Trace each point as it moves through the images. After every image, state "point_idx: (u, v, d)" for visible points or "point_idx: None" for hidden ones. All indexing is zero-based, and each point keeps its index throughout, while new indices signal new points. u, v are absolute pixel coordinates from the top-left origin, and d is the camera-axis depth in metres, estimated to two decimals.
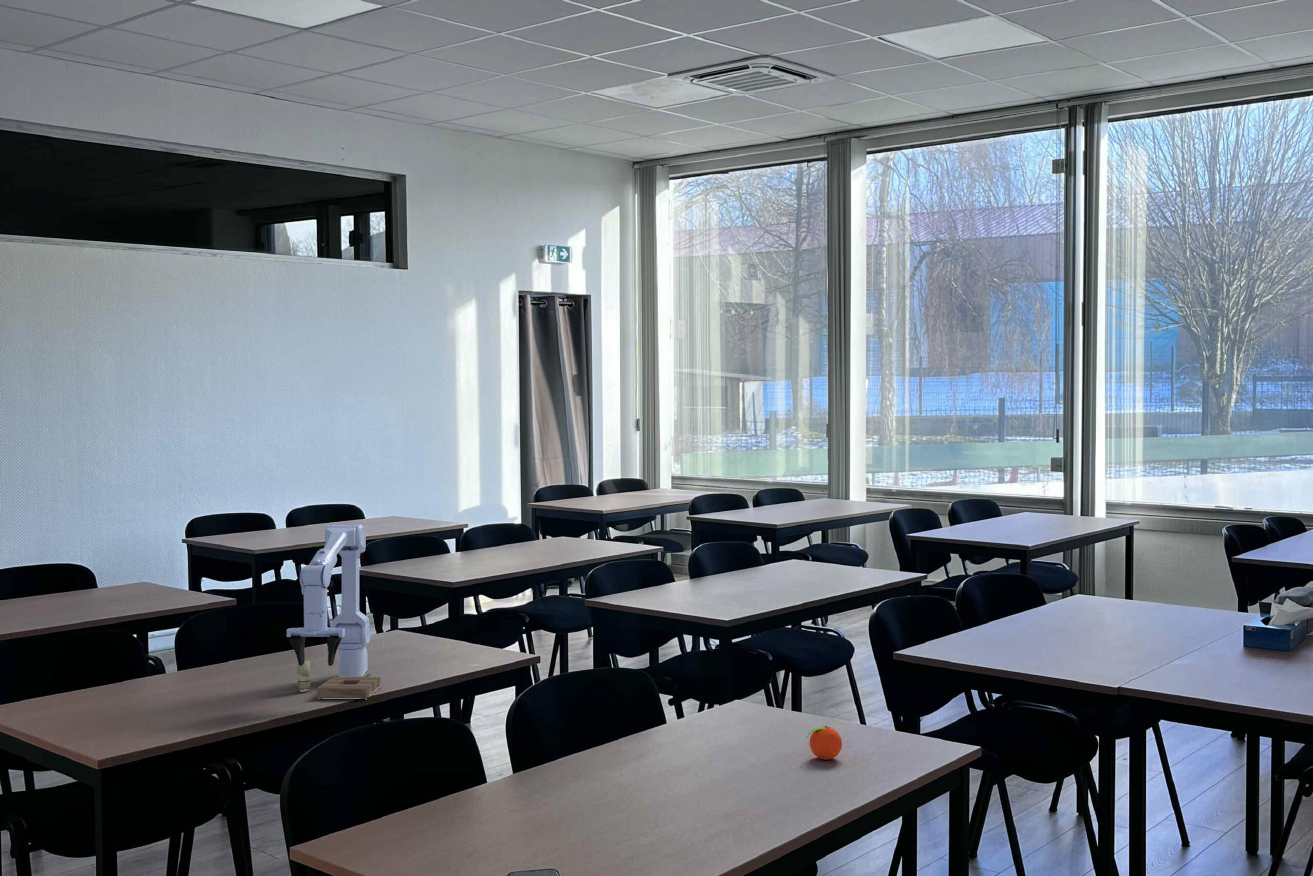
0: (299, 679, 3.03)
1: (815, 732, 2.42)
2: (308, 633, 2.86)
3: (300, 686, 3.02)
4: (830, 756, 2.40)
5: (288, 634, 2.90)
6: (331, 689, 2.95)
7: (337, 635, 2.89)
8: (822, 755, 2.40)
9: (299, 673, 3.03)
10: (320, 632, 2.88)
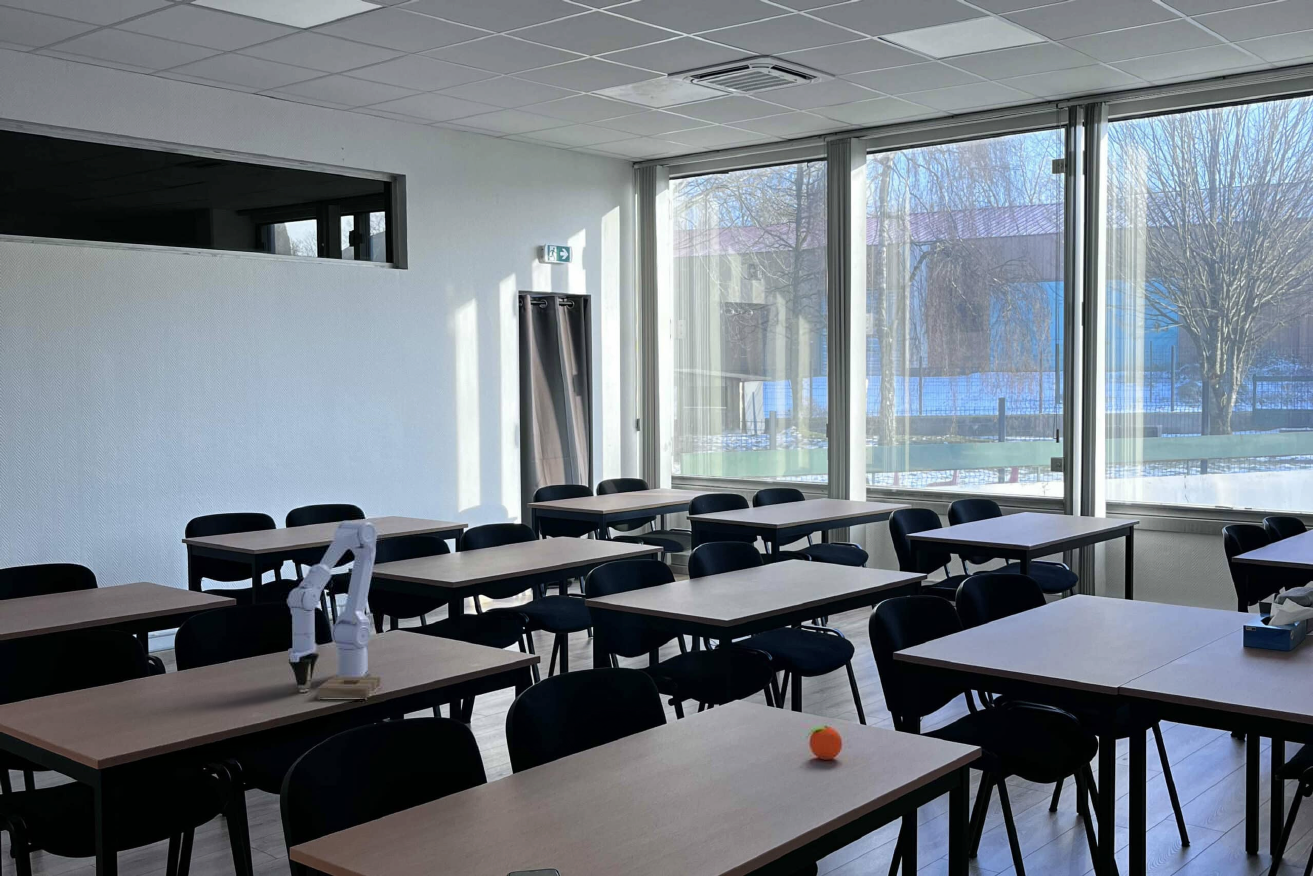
0: None
1: (815, 732, 2.42)
2: None
3: (300, 686, 3.02)
4: (830, 756, 2.40)
5: None
6: (331, 689, 2.95)
7: None
8: (822, 755, 2.40)
9: None
10: None
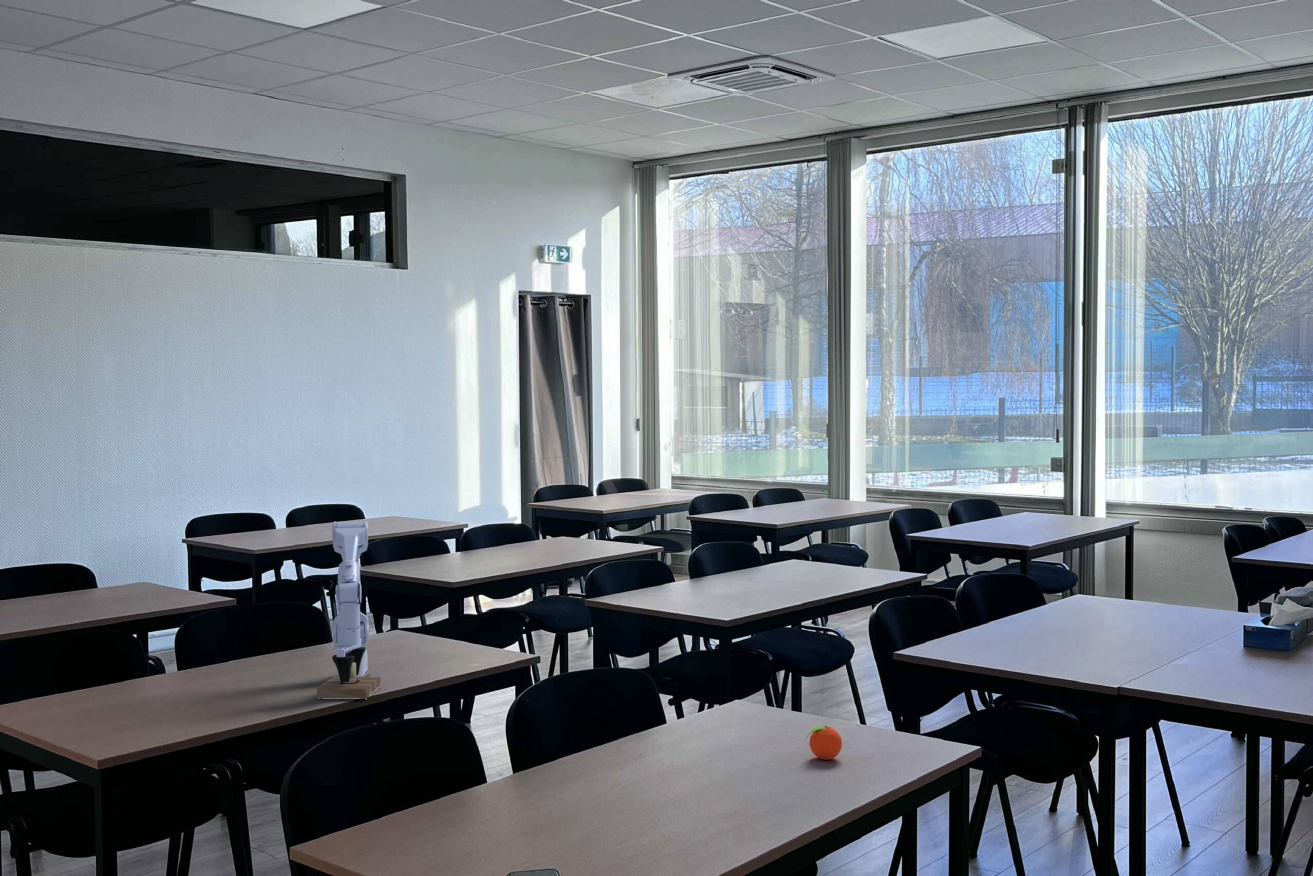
0: None
1: (815, 732, 2.42)
2: None
3: None
4: (830, 756, 2.40)
5: None
6: (331, 689, 2.95)
7: None
8: (822, 755, 2.40)
9: None
10: (337, 647, 2.99)
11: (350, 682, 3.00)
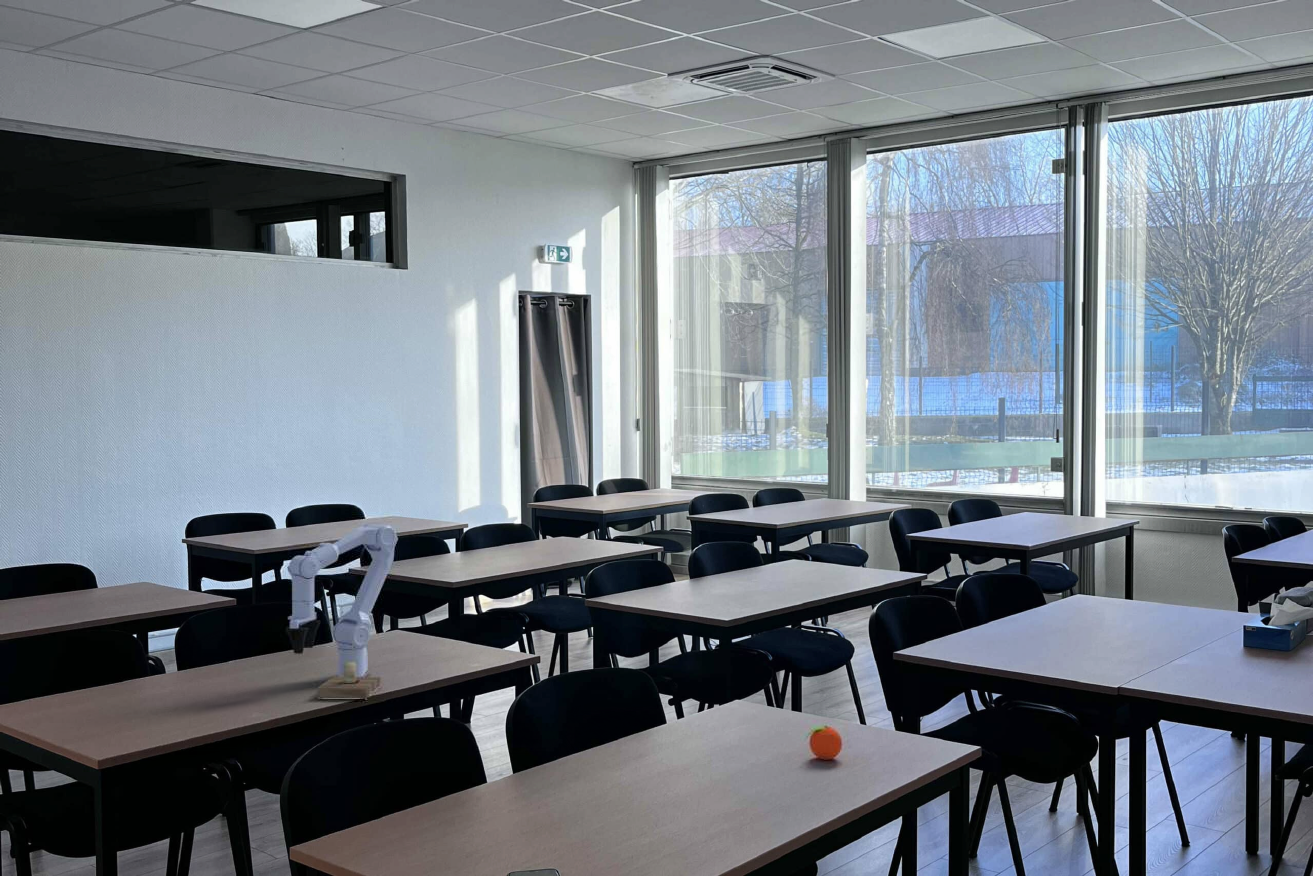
0: (345, 681, 3.00)
1: (815, 732, 2.42)
2: None
3: None
4: (830, 756, 2.40)
5: None
6: (331, 689, 2.95)
7: None
8: (822, 755, 2.40)
9: (345, 675, 3.00)
10: (291, 619, 3.05)
11: (350, 682, 3.00)
